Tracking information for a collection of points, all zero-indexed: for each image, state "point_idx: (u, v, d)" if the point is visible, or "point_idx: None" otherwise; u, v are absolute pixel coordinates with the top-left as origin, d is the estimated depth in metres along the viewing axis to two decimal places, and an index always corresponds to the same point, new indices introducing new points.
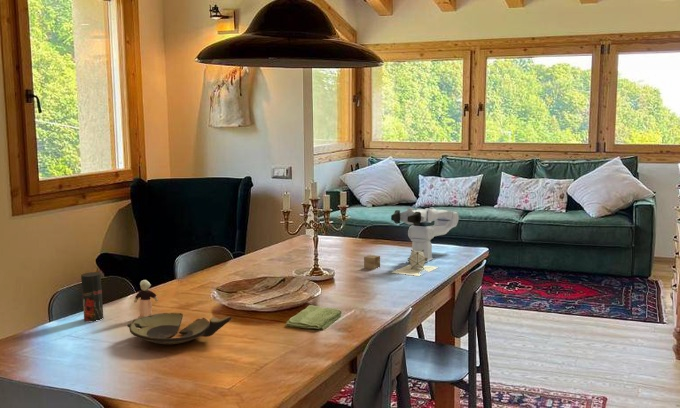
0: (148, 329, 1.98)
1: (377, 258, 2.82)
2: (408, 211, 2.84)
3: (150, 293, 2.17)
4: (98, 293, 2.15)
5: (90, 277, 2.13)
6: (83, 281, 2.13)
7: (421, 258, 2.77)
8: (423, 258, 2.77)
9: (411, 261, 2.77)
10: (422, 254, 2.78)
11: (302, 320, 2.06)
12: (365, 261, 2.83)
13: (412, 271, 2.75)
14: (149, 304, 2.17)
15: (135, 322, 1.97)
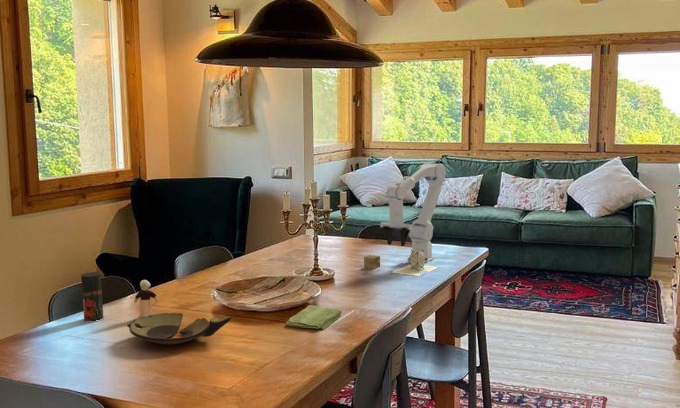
0: (148, 329, 1.98)
1: (377, 258, 2.82)
2: None
3: (150, 293, 2.17)
4: (98, 293, 2.15)
5: (90, 277, 2.13)
6: (83, 281, 2.13)
7: (421, 258, 2.77)
8: (423, 258, 2.77)
9: (411, 261, 2.77)
10: (422, 254, 2.78)
11: (302, 320, 2.06)
12: (365, 261, 2.83)
13: (412, 271, 2.75)
14: (149, 304, 2.17)
15: (135, 322, 1.97)
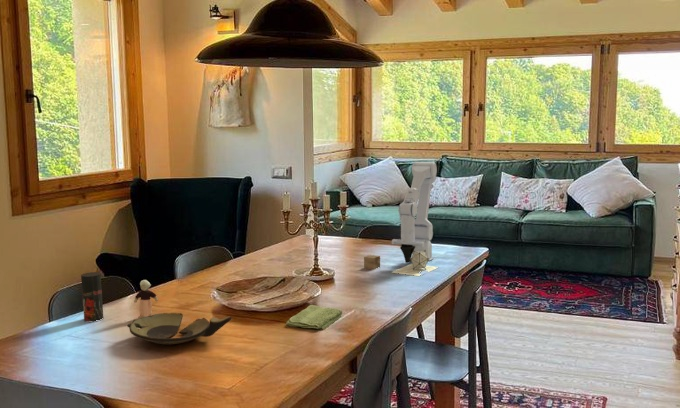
0: (148, 329, 1.98)
1: (377, 258, 2.82)
2: None
3: (150, 293, 2.17)
4: (97, 293, 2.15)
5: (90, 277, 2.13)
6: (83, 281, 2.13)
7: (423, 258, 2.76)
8: (425, 258, 2.76)
9: (413, 261, 2.77)
10: (424, 254, 2.77)
11: (302, 320, 2.06)
12: (365, 261, 2.83)
13: (412, 271, 2.75)
14: (149, 304, 2.17)
15: (135, 322, 1.97)
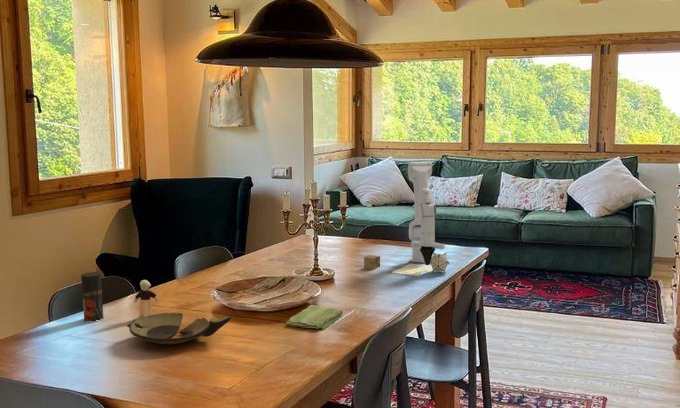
0: (148, 329, 1.98)
1: (377, 258, 2.82)
2: None
3: (150, 293, 2.17)
4: (98, 293, 2.15)
5: (90, 277, 2.13)
6: (83, 281, 2.13)
7: (443, 261, 2.70)
8: (444, 261, 2.71)
9: (432, 264, 2.72)
10: (444, 257, 2.72)
11: (302, 320, 2.06)
12: (365, 261, 2.83)
13: (412, 271, 2.75)
14: (149, 304, 2.17)
15: (135, 322, 1.97)
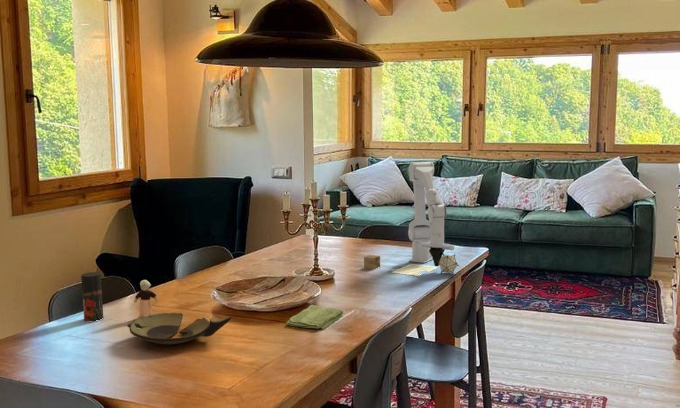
0: (148, 329, 1.98)
1: (377, 258, 2.82)
2: None
3: (150, 293, 2.17)
4: (98, 293, 2.15)
5: (90, 277, 2.13)
6: (83, 281, 2.13)
7: (451, 262, 2.68)
8: (453, 263, 2.68)
9: (440, 265, 2.70)
10: (453, 258, 2.69)
11: (302, 320, 2.06)
12: (365, 261, 2.83)
13: (412, 271, 2.75)
14: (149, 304, 2.17)
15: (135, 322, 1.97)
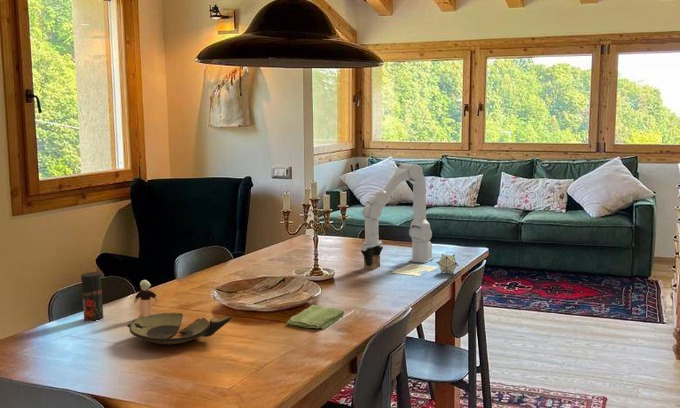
0: (148, 329, 1.98)
1: (377, 258, 2.82)
2: None
3: (150, 293, 2.17)
4: (98, 293, 2.15)
5: (90, 277, 2.13)
6: (83, 281, 2.13)
7: (451, 263, 2.68)
8: (452, 263, 2.68)
9: (440, 265, 2.70)
10: (452, 259, 2.69)
11: (303, 319, 2.06)
12: None
13: (412, 271, 2.75)
14: (149, 304, 2.17)
15: (135, 322, 1.97)
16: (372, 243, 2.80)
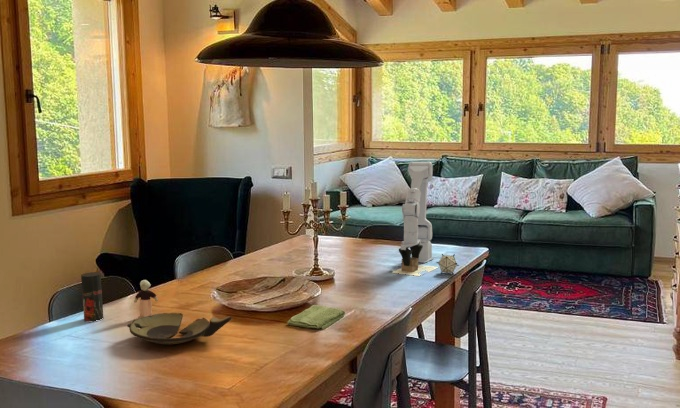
0: (148, 329, 1.98)
1: (415, 260, 2.76)
2: None
3: (150, 293, 2.17)
4: (98, 293, 2.15)
5: (90, 277, 2.13)
6: (83, 281, 2.13)
7: (451, 263, 2.68)
8: (452, 263, 2.68)
9: (440, 265, 2.70)
10: (452, 259, 2.69)
11: (303, 319, 2.06)
12: (403, 263, 2.76)
13: None
14: (149, 304, 2.17)
15: (135, 322, 1.97)
16: (411, 242, 2.73)
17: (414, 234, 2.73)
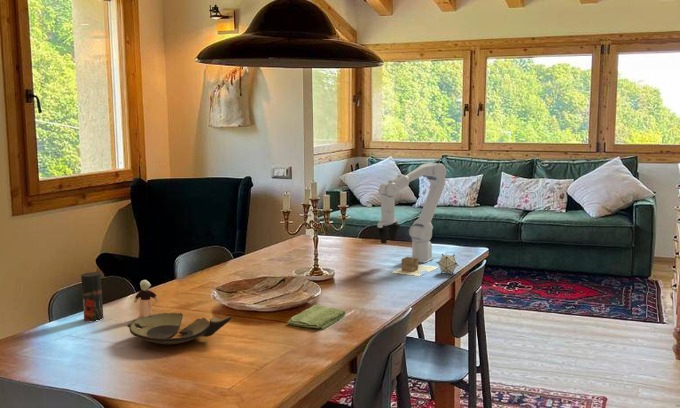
0: (148, 329, 1.98)
1: (415, 260, 2.76)
2: None
3: (150, 293, 2.17)
4: (98, 293, 2.15)
5: (90, 277, 2.13)
6: (83, 281, 2.13)
7: (451, 263, 2.68)
8: (452, 263, 2.68)
9: (440, 265, 2.70)
10: (452, 259, 2.69)
11: (303, 319, 2.07)
12: (403, 263, 2.76)
13: None
14: (149, 304, 2.17)
15: (135, 322, 1.97)
16: (388, 220, 2.82)
17: (391, 213, 2.82)
